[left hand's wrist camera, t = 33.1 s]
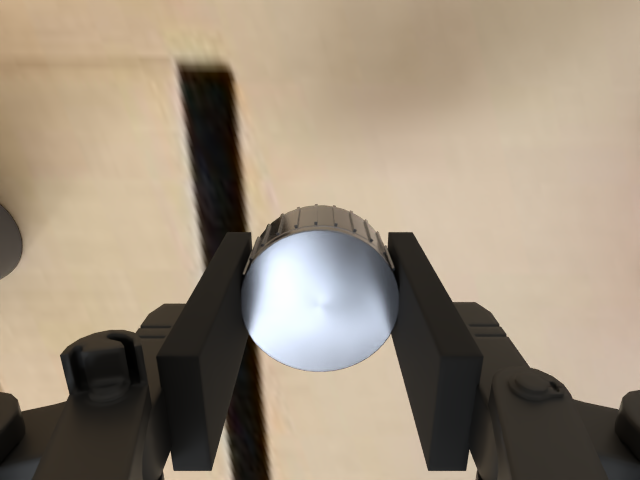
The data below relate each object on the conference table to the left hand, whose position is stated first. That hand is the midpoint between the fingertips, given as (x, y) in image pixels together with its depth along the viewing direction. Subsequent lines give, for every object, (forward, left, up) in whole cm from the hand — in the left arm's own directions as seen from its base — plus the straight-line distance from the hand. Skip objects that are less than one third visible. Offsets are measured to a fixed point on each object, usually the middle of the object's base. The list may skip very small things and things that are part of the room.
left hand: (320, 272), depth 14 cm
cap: (0, 0, +2) cm, 2 cm away
